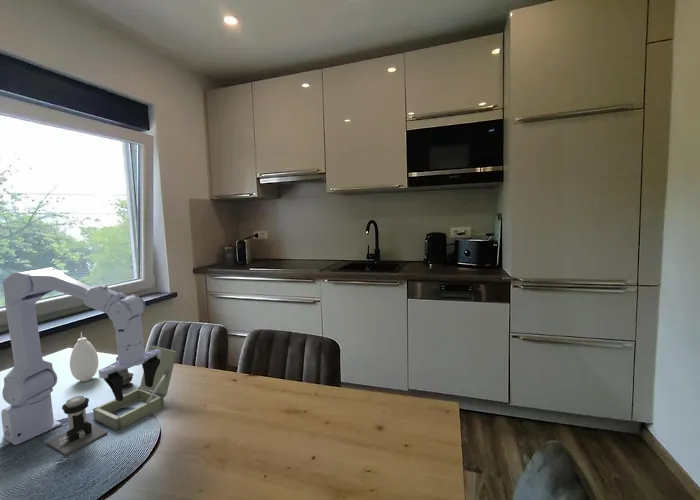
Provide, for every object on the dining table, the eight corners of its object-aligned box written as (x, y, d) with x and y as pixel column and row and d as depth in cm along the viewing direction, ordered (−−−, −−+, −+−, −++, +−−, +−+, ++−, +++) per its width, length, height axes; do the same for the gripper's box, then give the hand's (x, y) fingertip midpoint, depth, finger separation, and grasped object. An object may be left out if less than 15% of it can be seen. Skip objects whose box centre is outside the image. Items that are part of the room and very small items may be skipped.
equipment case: (117, 430, 89) (112, 375, 87) (93, 419, 94) (88, 367, 93) (180, 397, 105) (176, 350, 104) (157, 389, 111) (153, 344, 109)
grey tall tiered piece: (126, 391, 110) (123, 356, 109) (109, 391, 110) (105, 356, 109) (138, 382, 116) (135, 349, 115) (121, 382, 116) (118, 349, 115)
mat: (65, 455, 80) (65, 453, 80) (46, 443, 84) (46, 441, 84) (107, 433, 88) (107, 431, 88) (87, 423, 92) (87, 422, 92)
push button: (65, 449, 81) (61, 410, 80) (55, 443, 84) (50, 405, 83) (96, 433, 87) (92, 396, 86) (85, 427, 90) (81, 392, 89)
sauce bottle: (76, 378, 120) (70, 329, 119) (102, 373, 124) (97, 326, 122) (68, 387, 113) (63, 336, 112) (96, 382, 117) (91, 332, 115)
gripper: (107, 355, 78) (113, 410, 80) (166, 336, 91) (170, 383, 92) (92, 351, 82) (97, 403, 83) (150, 332, 94) (154, 378, 96)
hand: (134, 392), depth 88 cm, fingers open, 7 cm apart
